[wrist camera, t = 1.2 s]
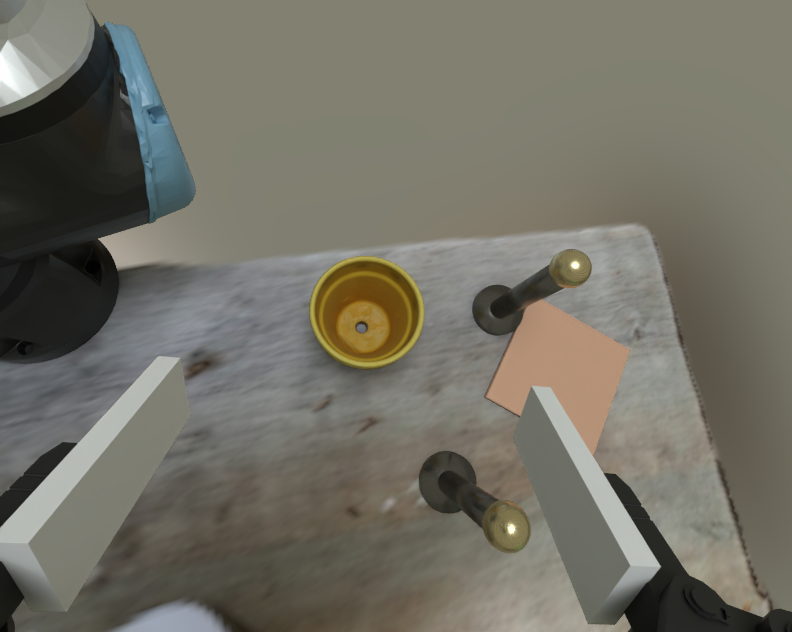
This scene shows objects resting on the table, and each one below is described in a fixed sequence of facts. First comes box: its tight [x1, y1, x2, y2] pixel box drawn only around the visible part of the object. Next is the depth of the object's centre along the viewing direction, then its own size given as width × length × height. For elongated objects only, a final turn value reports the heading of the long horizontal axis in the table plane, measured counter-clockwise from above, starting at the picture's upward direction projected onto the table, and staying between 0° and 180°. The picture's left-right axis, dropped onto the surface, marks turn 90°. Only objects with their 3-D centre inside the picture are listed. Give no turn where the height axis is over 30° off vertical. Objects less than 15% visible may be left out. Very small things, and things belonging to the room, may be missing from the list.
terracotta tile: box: [484, 299, 630, 456], centre depth 45 cm, size 14×14×1 cm
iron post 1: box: [419, 451, 531, 553], centre depth 33 cm, size 6×6×17 cm
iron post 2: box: [473, 249, 592, 335], centre depth 38 cm, size 6×6×17 cm
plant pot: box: [309, 256, 424, 369], centre depth 38 cm, size 10×10×10 cm
